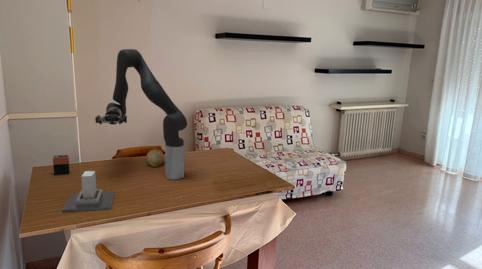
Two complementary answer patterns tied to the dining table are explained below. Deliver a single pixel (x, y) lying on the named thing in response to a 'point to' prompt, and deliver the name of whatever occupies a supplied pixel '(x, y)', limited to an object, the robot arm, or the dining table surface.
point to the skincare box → (89, 185)
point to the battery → (61, 164)
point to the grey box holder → (89, 202)
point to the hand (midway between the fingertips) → (110, 122)
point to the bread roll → (155, 157)
